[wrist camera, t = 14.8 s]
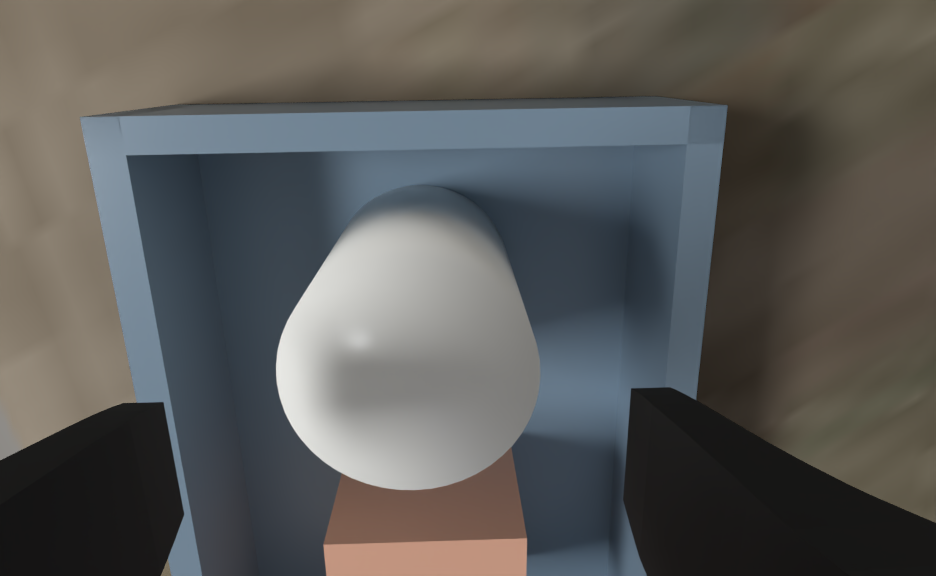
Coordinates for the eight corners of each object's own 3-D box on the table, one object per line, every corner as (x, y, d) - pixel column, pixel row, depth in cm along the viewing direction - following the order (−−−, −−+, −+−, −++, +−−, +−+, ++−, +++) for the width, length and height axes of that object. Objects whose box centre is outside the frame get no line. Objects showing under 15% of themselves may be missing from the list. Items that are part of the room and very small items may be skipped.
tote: (619, 588, 24) (661, 714, 19) (251, 602, 24) (203, 734, 19) (655, 96, 19) (727, 105, 14) (174, 104, 18) (79, 116, 13)
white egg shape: (507, 346, 20) (537, 485, 13) (342, 351, 20) (289, 494, 13) (507, 182, 18) (543, 248, 12) (328, 186, 18) (260, 255, 11)
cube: (507, 558, 22) (524, 690, 18) (361, 563, 22) (338, 697, 17) (508, 431, 21) (527, 538, 16) (351, 435, 21) (323, 544, 16)
